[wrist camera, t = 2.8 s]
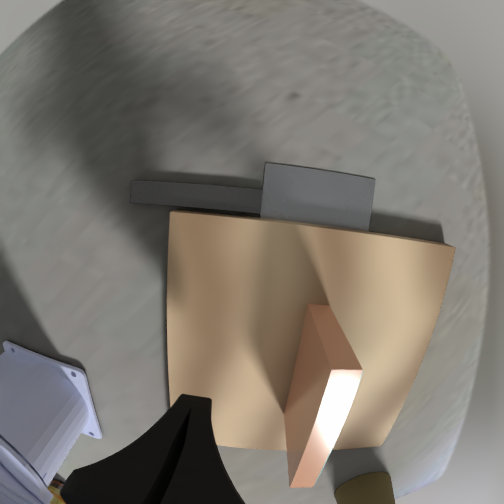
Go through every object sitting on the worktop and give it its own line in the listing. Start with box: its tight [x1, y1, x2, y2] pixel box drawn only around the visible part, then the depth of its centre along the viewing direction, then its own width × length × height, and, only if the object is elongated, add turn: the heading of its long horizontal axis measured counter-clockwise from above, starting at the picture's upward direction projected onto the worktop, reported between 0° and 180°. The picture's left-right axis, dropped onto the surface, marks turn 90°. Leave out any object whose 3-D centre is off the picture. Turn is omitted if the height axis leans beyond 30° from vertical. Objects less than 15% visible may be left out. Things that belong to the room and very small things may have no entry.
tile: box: [284, 304, 363, 488], centre depth 13 cm, size 1×8×6 cm, turn 174°
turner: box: [130, 163, 375, 231], centre depth 15 cm, size 13×4×1 cm, turn 84°
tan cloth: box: [167, 210, 456, 450], centre depth 17 cm, size 16×16×1 cm
